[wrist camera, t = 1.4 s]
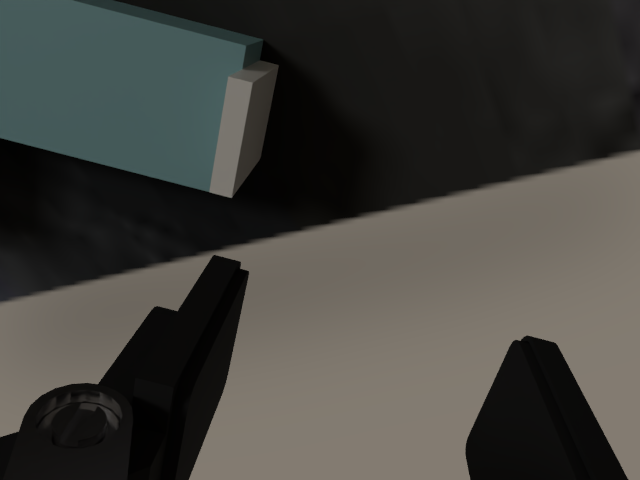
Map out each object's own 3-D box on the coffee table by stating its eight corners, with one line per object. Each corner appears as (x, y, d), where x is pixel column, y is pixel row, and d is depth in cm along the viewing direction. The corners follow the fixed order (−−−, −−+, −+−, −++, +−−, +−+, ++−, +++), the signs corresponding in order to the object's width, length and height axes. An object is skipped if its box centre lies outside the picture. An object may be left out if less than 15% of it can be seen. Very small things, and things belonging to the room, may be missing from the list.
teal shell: (282, 44, 27) (257, 57, 22) (256, 175, 30) (227, 218, 24) (-12, -33, 27) (-119, -42, 21) (-10, 106, 30) (-105, 132, 24)
